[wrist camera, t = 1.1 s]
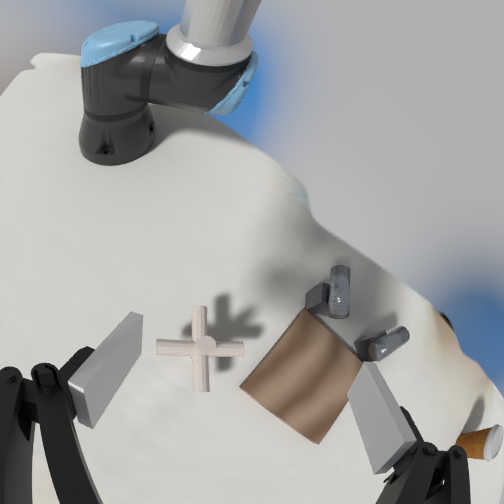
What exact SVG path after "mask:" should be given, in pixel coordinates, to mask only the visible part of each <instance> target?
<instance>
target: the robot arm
mask: <svg viewBox="0 0 504 504" xmlns="http://www.w3.org/2000/svg"><path fill="white" fill-rule="evenodd" d="M261 1H262V0H185V1H184V6H183V11H182V16H181V22H180V23H179V24H177V25H175V26H174V27H173V28H171V29H170V31H169V32H168V34H160V33H159V31H160V29H159V26H158V24H156V23H155V22H151V21H130V22H123V23H119V24H115V25H112V26H109V27H106V28H103V29H101V30H99V31H97V32H95V33H93V34H92V35H90V36H89V37H88V38H87V39H86V40H85V41H84V43H83V45H82V52H81V62H80V67H81V79H82V93H83V104H84V115H83V119H82V123H81V128H80V132H79V145H80V150H81V152H82V154H83V156H84V157H85V158H86V159H88V160H89V161H91V162H93V163H96V164H100V165H119V164H124V163H127V162H130V161H132V160H135V159H136V158H138V157H140V156H141V155H143V154H144V153H145V152H146V151H147V150H148V149H149V148H150V147H151V145H152V143H153V140H154V134H155V124H154V121H153V118H152V114H151V111H150V108H149V105H148V103H153V104H159V105H165V106H171V107H177V108H182V109H187V110H192V111H197V112H201V113H204V114H208V113H211V114H217V115H227V114H229V113H231V112H232V111H234V109H236V107H237V106H238V105H239V103H240V102H241V100H242V98H243V97H244V95H245V93H246V91H247V89H248V85H249V83H250V82H251V80H252V79H253V76H254V73H255V71H256V67H257V63H258V55H257V53H255V52H254V51H252V50H253V42H252V39H251V38H250V36H249V35H248V34H247V32H248V30H249V28H250V25H251V23H252V21H253V18H254V16H255V14H256V11H257V9H258V7H259V5H260V3H261ZM142 326H143V315H141V314H138V313H134V312H130V313H129V314H128V315H127V316H126V317H125V318H124V320H123V321H122V322H121V323H120V324H119V325H118V326H117V327H116V328H115V329H114V330H113V331H112V332H111V333H110V334H109V336H108V337H107V338H106V339H105V340H104V341H103V342H102V343H101V344H100V345H99V346H98V348H97V349H96V350H95V349H92V348H90V347H88V346H86V347H84V348H82V349H80V350H78V351H77V352H76V353H75V354H74V355H73V357H71V358H70V359H69V361H67V362H66V363H65V365H64V366H63V367H62V368H61V369H60V370H59V371H58V369H57V368H56V367H55V366H54V365H52V364H50V363H40V364H37V365H35V366H34V367H33V368H32V370H31V376H32V379H33V381H32V380H29V379H25V378H23V377H22V374H21V372H20V371H19V370H18V369H17V368H15V367H5V368H3V369H1V370H0V504H32V456H33V442H34V432H35V424H36V423H39V424H40V430H41V436H42V441H43V446H44V451H45V455H46V459H47V463H48V467H49V471H50V475H51V478H52V481H53V485H54V488H55V491H56V494H57V497H58V500H59V503H60V504H103V503H102V500H101V498H100V496H99V494H98V492H97V489H96V487H95V485H94V482H93V480H92V477H91V475H90V472H89V470H88V467H87V464H86V462H85V459H84V456H83V453H82V450H81V447H80V444H79V440H78V437H77V434H76V430H75V427H74V423H73V419H74V418H75V417H76V415H77V418H78V421H79V423H81V424H83V425H85V426H87V427H89V428H91V429H94V427H95V425H96V424H97V422H98V420H99V419H100V417H101V415H102V414H103V412H104V411H105V409H106V407H107V406H108V404H109V403H110V401H111V399H112V398H113V396H114V395H115V393H116V392H117V390H118V388H119V387H120V385H121V384H122V382H123V381H124V379H125V378H126V376H127V374H128V373H129V371H130V370H131V368H132V367H133V365H134V364H135V362H136V361H137V359H138V358H139V356H140V355H141V348H142ZM347 397H348V400H349V402H350V405H351V408H352V411H353V414H354V416H355V419H356V422H357V425H358V428H359V431H360V434H361V437H362V440H363V442H364V445H365V448H366V451H367V454H368V457H369V460H370V464H371V467H372V470H373V473H374V474H381V473H386V472H387V471H388V470H389V469H391V468H392V467H393V468H394V470H395V471H394V472H393V473H392V474H391V475H390V476H389V477H388V478H386V479H385V480H384V483H385V482H386V481H387V480H388V482H387V484H386V486H385V487H384V489H383V491H382V493H381V495H380V497H379V498H378V500H377V502H376V504H471V499H470V480H469V469H468V460H467V454H466V451H465V450H464V448H462V447H461V446H458V445H453V446H451V447H450V449H449V450H448V451H439V450H438V449H437V447H436V446H435V445H433V444H432V443H429V442H424V440H423V438H422V436H421V434H420V432H419V431H418V429H417V427H416V425H414V424H415V423H414V421H413V420H412V418H411V416H410V414H409V412H408V411H407V410H406V409H405V408H404V407H403V406H400V407H399V405H398V403H397V402H396V400H395V398H394V396H393V394H392V392H391V391H390V389H389V387H388V385H387V384H386V382H385V380H384V378H383V376H382V375H381V373H380V371H379V369H378V368H377V366H376V364H375V363H374V362H364V363H363V365H362V367H361V369H360V371H359V373H358V374H357V376H356V378H355V380H354V382H353V384H352V386H351V387H350V389H349V391H348V393H347ZM443 480H444V485H443Z"/></svg>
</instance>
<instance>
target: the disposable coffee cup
mask: <svg viewBox="0 0 504 504" xmlns="http://www.w3.org/2000/svg"><path fill="white" fill-rule="evenodd" d="M502 440H503V427H502V426H499V425H498V424H497V425H495V426H493V427H491V428H487V429H483V430H479V431H474V432H470V433H465V434H461V435H460V436H459V438H458V439H457V441H456V444H455V445H458V446H461V447H462V448H464V450H465V451H466V454H467V458H474V459H483V460H486V461H490V460H492V459H494V458H495V457H496V456H497V454H498V452H499V450H500V448H501V444H502Z"/></svg>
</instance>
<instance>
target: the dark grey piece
mask: <svg viewBox="0 0 504 504" xmlns="http://www.w3.org/2000/svg"><path fill="white" fill-rule="evenodd" d="M409 337H410V335H409V331H408V330H407V329H406V328H405V327H403V326H399V327H398V328H396V329H394V330H393V331H391V332H390V333H388V334H386V331H385V330H384V331H381V332H378V333H374V334H371V335H368V336H365V337H363V338H361V339H360V340H358V341H356V342H354V344H355V347H356V350H357V352H358V355H359V358H360V361H361V362H362V363H364V362H373V361H380V360H382V359H383V358H385V357H386V356H388V355H389V354H391V353H392V352H394V351H395V350H397V349H398V348H399V347H401V346H402V345H403V344H405V343H406V342H407V341H408V340H409Z"/></svg>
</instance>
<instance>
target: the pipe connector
mask: <svg viewBox="0 0 504 504" xmlns="http://www.w3.org/2000/svg"><path fill="white" fill-rule="evenodd" d="M156 354H157V355H170V356H190V357H191V358H192V364H193V390H194V392H209V369H208V357H229V356H243V355H244V344H243V342H242V341H215V340H214V339H213V338H212V337H210V336H207V307H205V306H193V307H192V341H185V340H165V339H157V341H156Z"/></svg>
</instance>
